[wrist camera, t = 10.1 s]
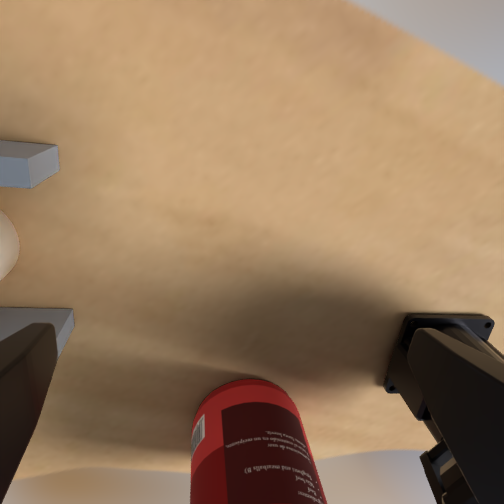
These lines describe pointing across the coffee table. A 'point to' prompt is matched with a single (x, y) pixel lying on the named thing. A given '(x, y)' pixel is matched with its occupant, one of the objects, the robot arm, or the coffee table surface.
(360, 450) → the coffee table surface
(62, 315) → the bracket
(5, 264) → the roll
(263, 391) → the canned food
